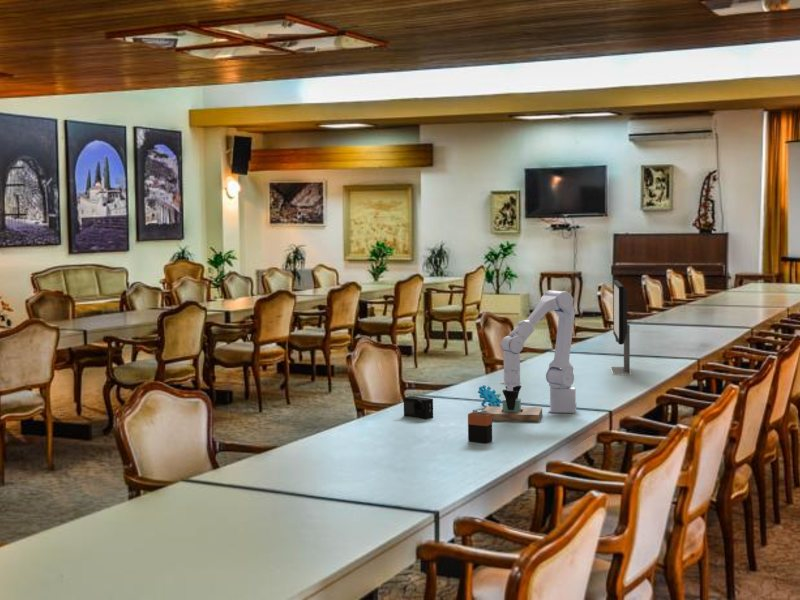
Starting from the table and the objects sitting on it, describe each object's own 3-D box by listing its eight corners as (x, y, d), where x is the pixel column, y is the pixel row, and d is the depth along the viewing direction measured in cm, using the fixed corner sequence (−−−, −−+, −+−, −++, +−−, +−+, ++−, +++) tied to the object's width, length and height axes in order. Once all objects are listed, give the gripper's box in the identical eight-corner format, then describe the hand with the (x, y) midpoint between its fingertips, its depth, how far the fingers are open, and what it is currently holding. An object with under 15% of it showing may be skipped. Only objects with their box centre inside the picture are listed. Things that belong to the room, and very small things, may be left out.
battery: (486, 443, 333) (486, 412, 333) (467, 441, 337) (467, 410, 336) (492, 441, 337) (492, 410, 336) (474, 439, 341) (473, 408, 340)
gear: (487, 405, 391) (475, 383, 396) (478, 414, 394) (467, 393, 399) (508, 405, 398) (496, 384, 403) (499, 414, 401) (487, 394, 406)
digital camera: (401, 416, 380) (400, 397, 380) (410, 414, 384) (410, 395, 384) (423, 420, 373) (423, 400, 373) (433, 417, 378) (432, 398, 377)
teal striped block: (520, 415, 376) (520, 398, 376) (519, 417, 372) (519, 400, 372) (504, 414, 377) (503, 397, 377) (502, 416, 373) (502, 399, 373)
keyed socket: (542, 414, 379) (542, 407, 379) (538, 422, 366) (538, 414, 366) (486, 413, 384) (486, 406, 384) (481, 420, 370) (481, 413, 370)
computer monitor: (608, 364, 497) (608, 280, 493) (626, 364, 496) (626, 279, 492) (613, 378, 456) (613, 286, 453) (633, 378, 455) (633, 286, 452)
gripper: (502, 366, 381) (503, 403, 382) (498, 372, 367) (498, 411, 368) (522, 366, 380) (522, 404, 381) (518, 373, 366) (518, 411, 367)
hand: (512, 407), depth 374 cm, fingers open, 7 cm apart
